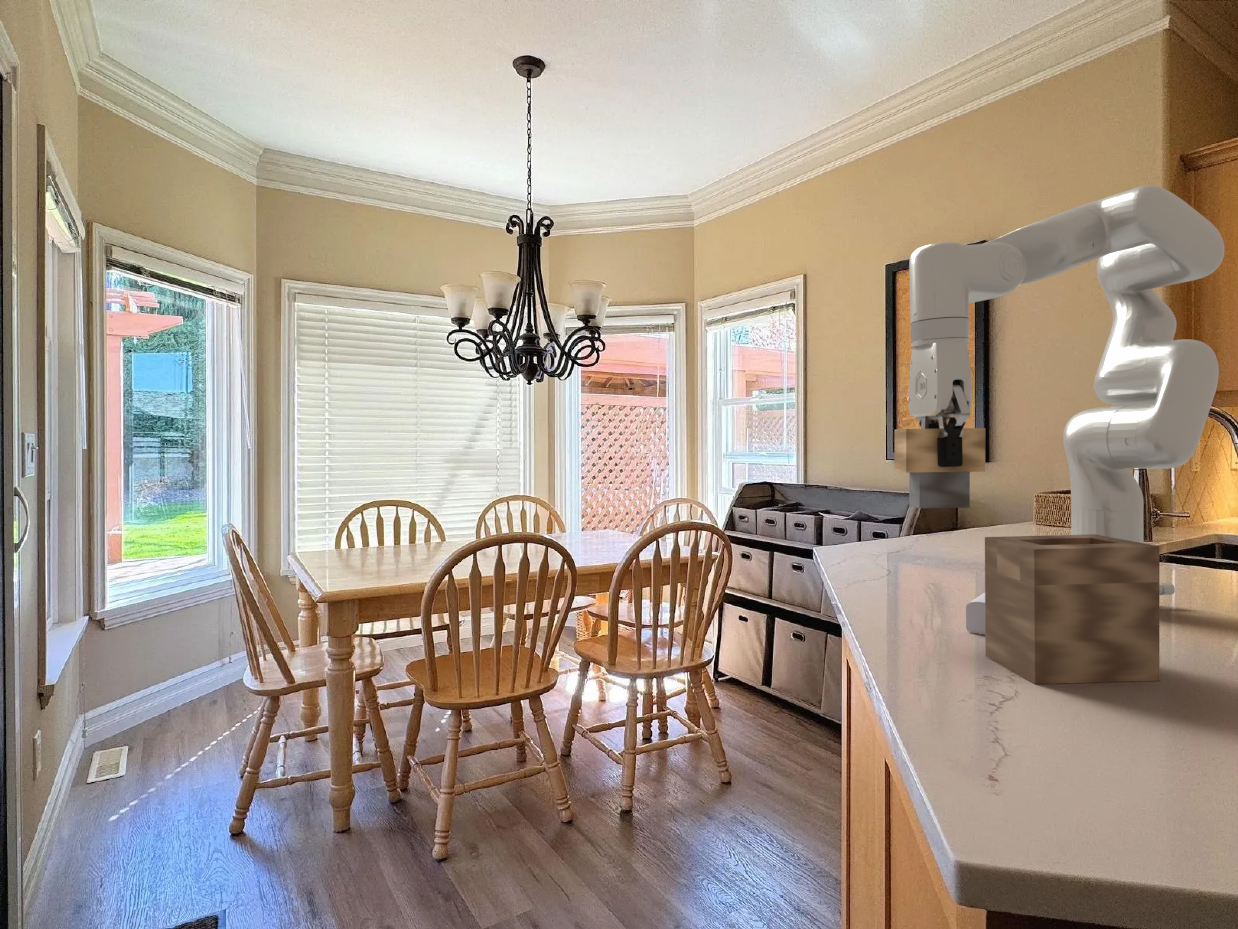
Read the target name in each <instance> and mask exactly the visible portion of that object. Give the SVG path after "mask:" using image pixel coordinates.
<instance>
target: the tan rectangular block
mask: <svg viewBox="0 0 1238 929" xmlns="http://www.w3.org/2000/svg"><path fill="white" fill-rule="evenodd" d="M963 429H964V435H963V437H962V454H963V464H962V466H958V467H939V466H938V446H937V438H941V436H940V429H921V428H897V429H894V472H898V473H905V474H906V473H909V474H908V477H909V478H908V480H909V481H908V487H909V488H908V493H909V496H908V499H909V500H908V502H909V504H908V506H909V507H911V508H917V509H961V508H962V509H965V508H967V509H968V508H969V509H970V507H971V506H970V504H971V503H970V500H971V499H970V496H971V495H970V494H971V492H970V491H971V490H970V486H971V485H970V480H971V478H970V477H971V476H970V475H971V474H970V473H971V472H972V473H973V472H976V473H977V472H983V473H984V472H986V428H985V427H978V428H977V427H975V428H974V427H970V428H966V427H965V428H964V427H963Z"/></svg>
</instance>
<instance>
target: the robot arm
mask: <svg viewBox="0 0 1238 929" xmlns="http://www.w3.org/2000/svg"><path fill="white" fill-rule="evenodd" d="M1224 257H1225V242H1224V239H1223V237H1222V235H1221V233H1220V231H1219V230H1218V228H1217V227H1216V226H1215V225H1214V224H1213V223H1212V222H1211V221H1209V219H1207V218H1206V217H1205V216H1204V215H1202V214H1201V213H1200V212H1198V211H1197V210H1196V209H1195V208H1193V207H1192V206H1191V205H1190V204H1189V203H1188V202H1186V201H1185V200H1184V199H1182V198H1180V197H1179V196H1177V195H1176V194H1174V193H1173V192H1171V191H1170V190H1168V189H1165V188H1162V187H1160V186H1157V185H1151V184H1147V185H1140V186H1137V187H1133V188H1131V189H1128V190H1124V191H1121V192H1118V193H1116V194H1111V195H1109V196H1105V197H1103V198H1099V199H1097V200H1094V201H1091V202H1087V203H1084V204H1082V205H1080V206H1076V207H1074V208H1071V209H1069V210H1065V211H1063V212H1061V213H1057V214H1055V215H1051V216H1050V217H1047V218H1043V219H1041V220H1038V221H1036V222H1032V223H1030V224H1027V225H1025V226H1022V227H1020V228H1017V229H1015V230H1012V231H1010V232H1008V233H1005V234H1004V235H1001V236H1000V237H997V238H994V239H992V240H989V241H986V242H984V243H977V244H965V245H964V244H961V243H959V242H953V241H943V242H935V243H929V244H925V245H922V246H920V247H918V248H916V249H915V250H914V251H912V253H911V255H910V257H909V260H908V261H909V264H908V266H909V267H908V270H909V271H908V272H909V275H908V278H909V311H910V312H909V316H910V321H909V322H910V325H909V326H910V327H909V328H910V348H911V349H912V350H911V354H910V355H911V356H910V357H911V358H910V366H909V375H908V376H909V377H908V379H909V380H908V413H909V414H910V415H911V416H912V417H915V418H916V421H917V422H918V424H919V426H920V429H940V436H941V438H937V446H938V466H939V467H958V466H962V464H963V454H962V437H963V435H964V429H963V428H964V427H965V425H966V421H967V420H968V418H969V417H970V416H971V408H972V403H973V402H972V397H973V392H972V390H973V389H972V387H973V386H972V371H971V361H970V353H969V346H968V345H969V344H970V304H972V303H973V304H974V303H978V302H982V301H987V300H992V299H996V298H1000V297H1002V296H1005V295H1008V294H1010V293H1012V292H1014V291H1015V290H1017V288H1019V287H1020V285H1025V284H1029V283H1035V282H1037V281H1041V280H1044V279H1048V278H1051V277H1054V276H1057V275H1059V274H1063V273H1064V272H1065V273H1066V272H1067V271H1069V270H1072V269H1074V268H1077V267H1079V266H1082V265H1083V264H1087V263H1089V262H1092V261H1095V260H1097V259H1098V260H1097V263H1096V278H1097V280H1098V283H1099V285H1100V287H1101V290H1102V291H1103V293H1104V295H1105V297H1106V299H1107V302H1108V305H1109V307H1110V309H1111V310H1110V311H1111V313H1112V325H1111V329H1110V332H1109V335H1108V338H1107V341H1106V343H1105V347H1104V350H1103V352H1102V356H1101V358H1100V362H1099V365H1098V367H1097V370H1096V373H1095V375H1094V376H1095V377H1094V381H1093V389H1094V393H1095V395H1096V396H1097V398H1098V399H1099V401H1101V402H1103V403H1105V404H1107V405H1113V406H1101V407H1093V408H1089V409H1085V410H1082V411H1080V412H1078V413H1076V414H1074V415H1073V416H1072V417H1070V419H1069V420H1068V421H1067V422H1066V424H1065V426H1064V429H1063V433H1062V434H1063V435H1062V441H1063V448H1064V452H1065V456H1066V459H1067V460H1066V462H1067V466H1068V472H1069V480H1070V515H1071V517H1070V524H1071V525H1070V535H1090V534H1097V535H1102V536H1107V537H1113V538H1118V539H1123V540H1129V541H1134V542H1140V543H1144V510H1145V509H1144V505H1145V504H1144V495H1143V492H1142V489H1141V487H1140V485H1139V483H1138V481H1137V480H1136V477H1134V475H1133V474H1132V472H1131V471H1130V469H1147V470H1149V469H1151V470H1152V469H1155V470H1156V469H1161V470H1163V469H1164V470H1165V469H1175V468H1178V467H1181V466H1183V465H1185V464H1187V462H1189V461H1190V460H1191V459H1192V457H1193V456H1194V455H1195V452H1196V451H1197V448H1198V446H1199V443H1200V440H1201V437H1202V435H1203V431H1204V429H1205V424H1206V422H1207V419H1208V416H1209V414H1210V410H1211V407H1212V405H1213V401H1214V397H1215V395H1216V391H1217V388H1218V383H1219V379H1220V372H1219V371H1220V369H1219V368H1220V366H1219V362H1218V358H1217V355H1216V353H1215V352H1214V350H1213V349H1212V348H1211V347H1210V346H1209V345H1208V344H1207V343H1205V342H1203V341H1201V340H1196V339H1191V338H1189V339H1183V338H1182V339H1174V337H1175V334H1176V330H1177V324H1178V323H1177V319H1176V316H1175V314H1174V312H1173V310H1172V309H1171V308H1170V307H1169V306H1168V305H1167V303H1165V302H1164V301H1163V300H1162V299H1161V298H1160V297H1159V295H1158V294H1157V293H1156V291H1155V290H1154V289H1157V288H1162V287H1167V286H1172V285H1178V284H1182V283H1186V282H1192V281H1197V280H1199V279H1204V278H1206V277H1207V276H1209V275H1212V274H1213V273H1214V272H1215V271H1216V270H1218V268H1219V267H1220V266H1221V265H1222V262H1223V259H1224ZM935 421H936V422H935ZM947 421H948V422H947ZM1175 588H1176V587H1175V585H1174V584H1173V583H1172V582H1159V596H1172V595H1174V593H1175V591H1176V589H1175Z"/></svg>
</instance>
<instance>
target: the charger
mask: <svg viewBox="0 0 1238 929" xmlns="http://www.w3.org/2000/svg"><path fill="white" fill-rule="evenodd" d="M965 629H966V631H967V632H968V633H970V634H974V633H979V634H978V635H981V634H985V592H983V593H982V594H980V595H979V596H977V597H976V598H974V599H972V600H971V601H969V602H968V603H967V604H966V606H965Z"/></svg>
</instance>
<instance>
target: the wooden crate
mask: <svg viewBox="0 0 1238 929" xmlns="http://www.w3.org/2000/svg"><path fill="white" fill-rule="evenodd" d="M1159 583H1160V545H1154V544H1150V543H1145V542H1143V543H1140V542H1134V541H1129V540H1123V539H1118V538H1113V537H1107V536H1102V535H1097V534H1090V535H1071V534H1064V535H1063V534H1058V535H1056V534H1055V535H1054V534H1052V535H1050V534H1049V535H1018V536H1017V535H1015V536H1014V535H1013V536H984V593H985V635H984V638H985V657H986V656H987V657H989V658H991V659H992V660H991V659H990V660H991V661H993V662H995V661H996V662H998V663H999V664H998V663H997V664H998V665H1000V664H1001V665H1000V666H1002V665H1003V666H1002V667H1004V668H1005V667H1007V668H1008V669H1007V668H1006V669H1007V670H1009V671H1011V672H1012V671H1013V673H1015V674H1016V675H1018V676H1020V677H1021V678H1023V679H1025V680H1027V681H1029V682H1031V683H1033V684H1034V685H1048V684H1049V685H1050V684H1053V685H1054V684H1080V683H1081V684H1084V683H1085V684H1086V683H1089V684H1090V683H1117V682H1120V683H1121V682H1122V683H1123V682H1124V683H1125V682H1153V681H1154V682H1155V681H1157V682H1158V681H1160V595H1159ZM987 657H986V658H987ZM989 658H988V659H989ZM996 662H995V663H996Z"/></svg>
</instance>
